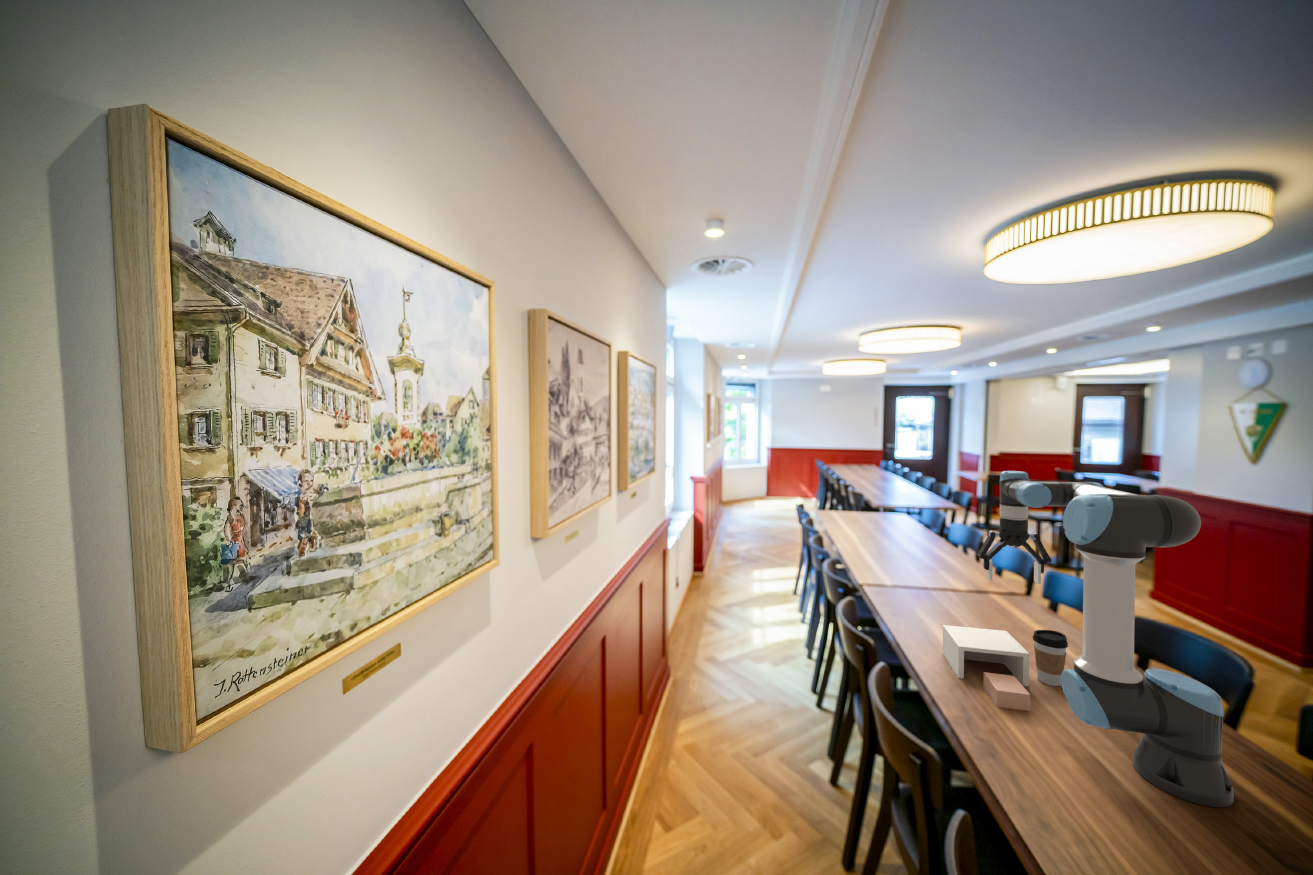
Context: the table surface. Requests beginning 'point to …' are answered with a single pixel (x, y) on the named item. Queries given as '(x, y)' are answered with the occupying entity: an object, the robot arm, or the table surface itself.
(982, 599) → the table surface
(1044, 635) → the coffee cup
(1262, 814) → the table surface
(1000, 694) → the pink clay brick
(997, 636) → the shelf
